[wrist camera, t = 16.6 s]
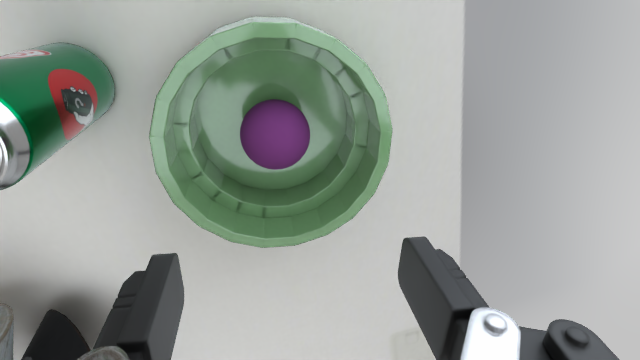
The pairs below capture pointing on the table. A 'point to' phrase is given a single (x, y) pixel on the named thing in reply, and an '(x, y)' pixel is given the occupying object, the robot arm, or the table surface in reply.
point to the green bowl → (226, 118)
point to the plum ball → (275, 134)
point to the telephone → (44, 338)
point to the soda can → (47, 103)
